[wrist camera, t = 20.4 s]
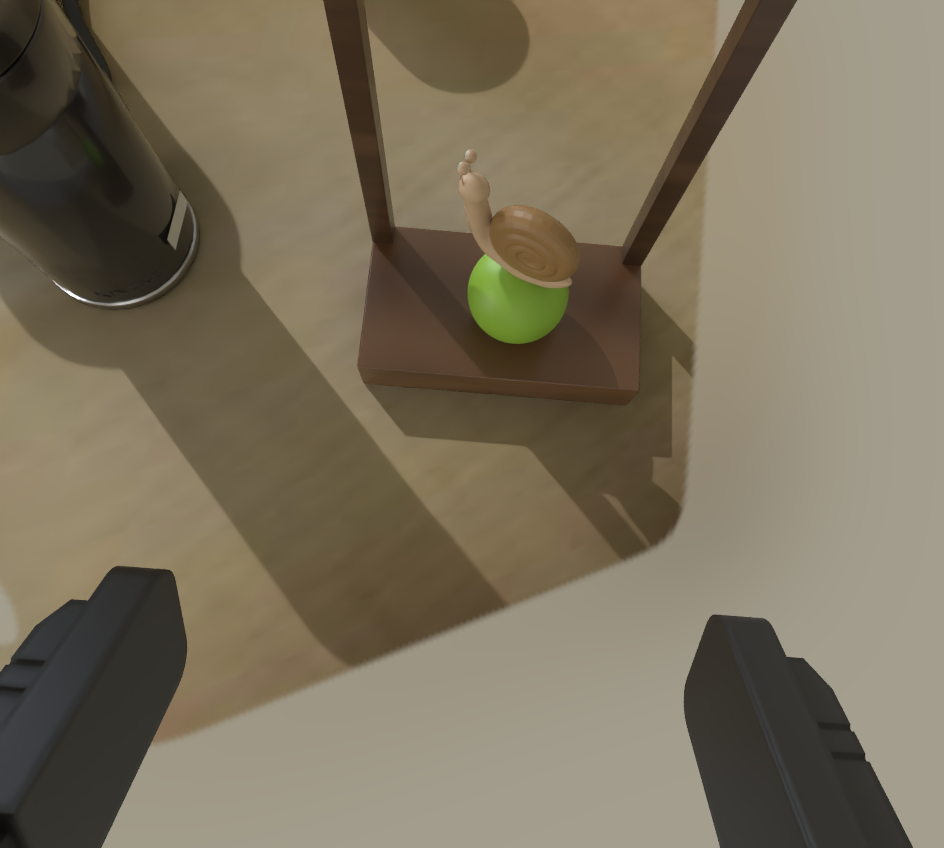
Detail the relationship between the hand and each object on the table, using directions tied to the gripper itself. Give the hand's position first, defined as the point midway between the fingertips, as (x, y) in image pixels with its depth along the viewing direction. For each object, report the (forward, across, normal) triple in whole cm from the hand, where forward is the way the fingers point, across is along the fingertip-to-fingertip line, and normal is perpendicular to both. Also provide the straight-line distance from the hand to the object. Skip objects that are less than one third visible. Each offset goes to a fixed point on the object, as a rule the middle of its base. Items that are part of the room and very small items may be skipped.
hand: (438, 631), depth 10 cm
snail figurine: (+30, -2, +6) cm, 31 cm away
